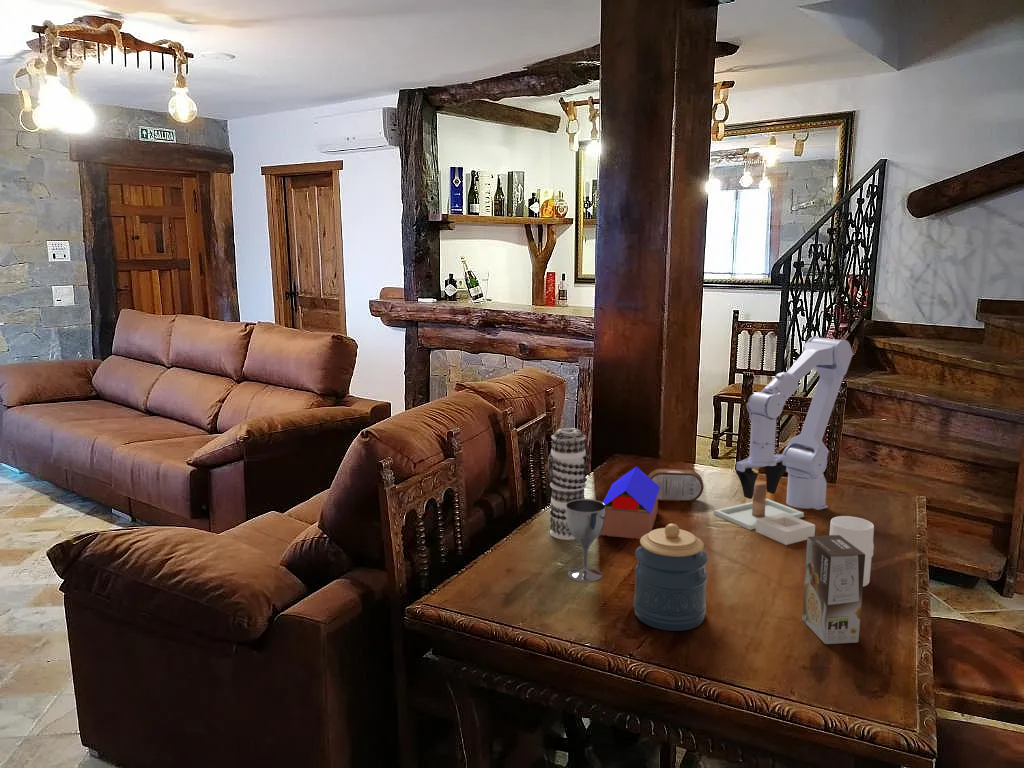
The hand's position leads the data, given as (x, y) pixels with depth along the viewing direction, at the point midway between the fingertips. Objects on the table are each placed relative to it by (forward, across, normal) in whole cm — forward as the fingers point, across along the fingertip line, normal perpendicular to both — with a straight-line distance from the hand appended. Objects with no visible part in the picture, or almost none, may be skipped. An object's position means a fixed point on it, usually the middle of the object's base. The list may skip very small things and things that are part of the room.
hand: (759, 495), depth 187 cm
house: (+7, -29, +13) cm, 33 cm away
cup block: (+6, -4, -12) cm, 14 cm away
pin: (+5, 0, 0) cm, 5 cm away
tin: (+6, -9, +21) cm, 24 cm away
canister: (+6, -51, -28) cm, 59 cm away
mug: (+6, -8, -32) cm, 34 cm away
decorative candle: (+6, -46, +15) cm, 49 cm away
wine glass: (+6, -55, -6) cm, 56 cm away
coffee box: (+6, -30, -46) cm, 55 cm away
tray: (+6, 0, 0) cm, 6 cm away
